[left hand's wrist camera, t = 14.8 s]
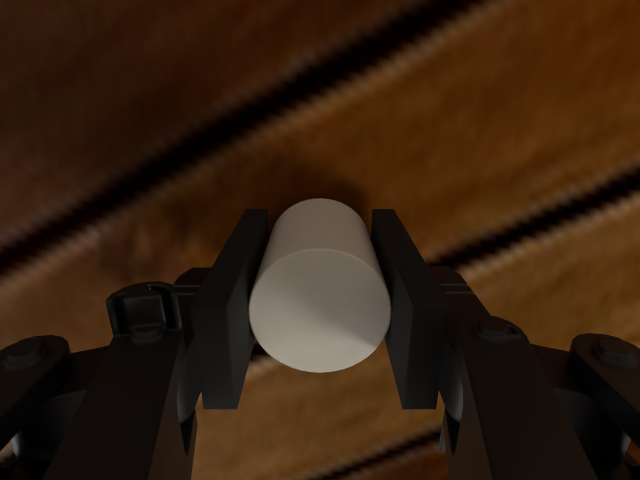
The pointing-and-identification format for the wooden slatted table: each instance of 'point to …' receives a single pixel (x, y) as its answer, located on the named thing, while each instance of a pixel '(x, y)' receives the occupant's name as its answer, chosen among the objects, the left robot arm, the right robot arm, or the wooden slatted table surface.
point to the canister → (319, 289)
